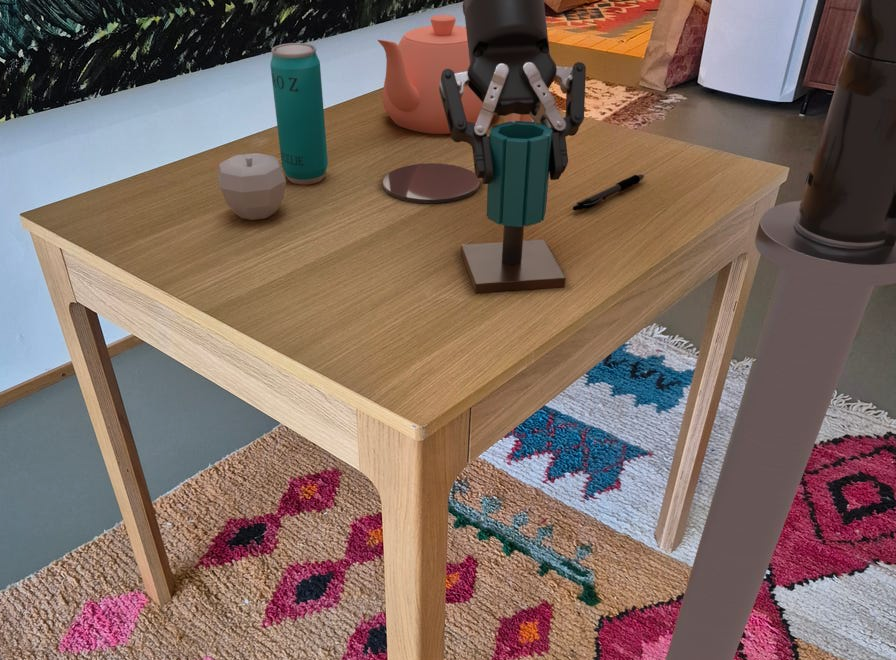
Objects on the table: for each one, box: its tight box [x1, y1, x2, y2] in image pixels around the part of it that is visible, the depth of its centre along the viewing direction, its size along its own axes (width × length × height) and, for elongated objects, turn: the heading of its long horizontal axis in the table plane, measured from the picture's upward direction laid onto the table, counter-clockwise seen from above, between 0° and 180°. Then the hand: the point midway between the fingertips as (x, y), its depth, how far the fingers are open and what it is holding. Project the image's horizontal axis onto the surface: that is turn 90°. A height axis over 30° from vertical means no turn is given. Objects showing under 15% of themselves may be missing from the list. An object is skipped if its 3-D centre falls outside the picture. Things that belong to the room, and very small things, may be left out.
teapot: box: [377, 14, 496, 135], centre depth 118 cm, size 25×17×13 cm
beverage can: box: [269, 42, 329, 185], centre depth 101 cm, size 6×6×15 cm
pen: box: [572, 173, 645, 212], centre depth 99 cm, size 14×2×1 cm, turn 135°
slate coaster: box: [382, 162, 481, 204], centre depth 103 cm, size 12×12×1 cm
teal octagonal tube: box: [486, 121, 553, 228], centre depth 79 cm, size 6×6×8 cm
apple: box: [217, 152, 287, 221], centre depth 95 cm, size 8×8×7 cm
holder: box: [460, 225, 567, 294], centre depth 82 cm, size 9×9×10 cm
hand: (522, 177), depth 78 cm, fingers closed on teal octagonal tube, 6 cm apart
